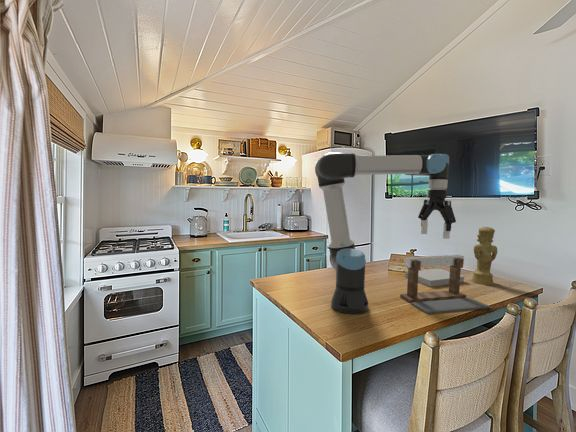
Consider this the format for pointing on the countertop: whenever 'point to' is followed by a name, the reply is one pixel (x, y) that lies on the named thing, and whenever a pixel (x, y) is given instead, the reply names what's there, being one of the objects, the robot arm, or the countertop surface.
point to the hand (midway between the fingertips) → (434, 236)
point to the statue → (484, 256)
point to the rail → (434, 260)
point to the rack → (436, 295)
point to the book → (434, 277)
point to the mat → (449, 305)
